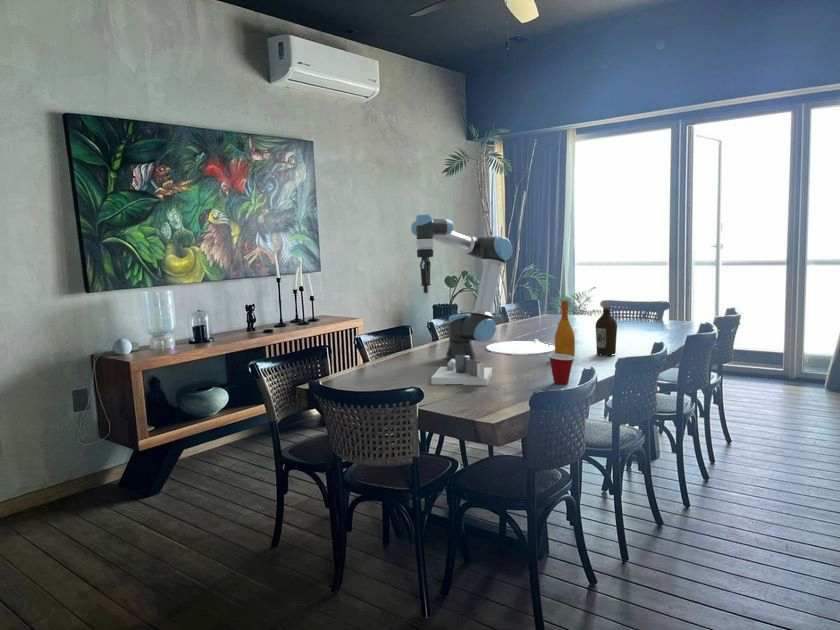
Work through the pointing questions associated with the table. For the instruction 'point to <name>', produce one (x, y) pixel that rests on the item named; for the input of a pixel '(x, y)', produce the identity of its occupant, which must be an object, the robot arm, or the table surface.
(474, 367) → the dark grey lever
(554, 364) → the plastic cup
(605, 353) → the olive oil
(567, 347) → the wine bottle
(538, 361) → the table surface
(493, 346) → the lazy susan
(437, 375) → the instrument base
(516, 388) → the table surface
